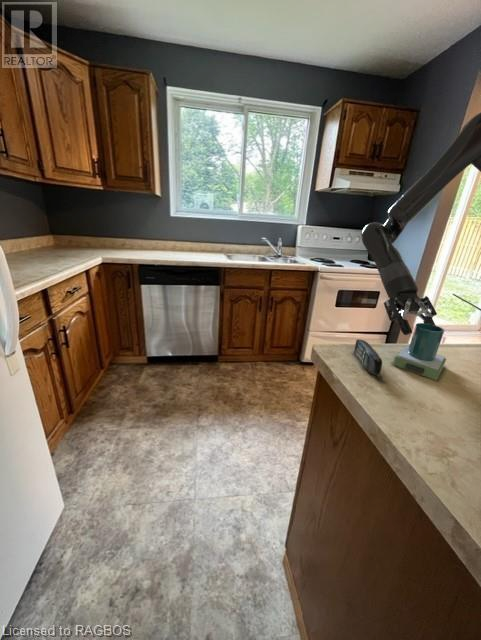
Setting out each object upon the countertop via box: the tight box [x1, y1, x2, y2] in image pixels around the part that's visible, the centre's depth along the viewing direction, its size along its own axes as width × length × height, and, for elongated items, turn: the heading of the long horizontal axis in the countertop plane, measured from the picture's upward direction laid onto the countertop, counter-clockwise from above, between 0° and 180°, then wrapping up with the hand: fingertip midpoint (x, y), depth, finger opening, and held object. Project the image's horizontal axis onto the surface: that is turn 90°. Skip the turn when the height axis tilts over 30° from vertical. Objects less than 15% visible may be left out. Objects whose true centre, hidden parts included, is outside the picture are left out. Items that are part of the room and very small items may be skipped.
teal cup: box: [408, 322, 445, 361], centre depth 71 cm, size 6×6×8 cm
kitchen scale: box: [392, 345, 447, 381], centre depth 73 cm, size 11×10×3 cm
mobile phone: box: [353, 339, 384, 381], centre depth 72 cm, size 5×3×15 cm
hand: (420, 333), depth 72 cm, fingers open, 8 cm apart
